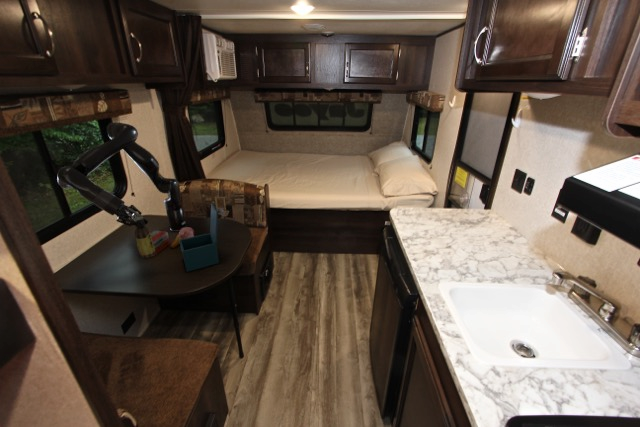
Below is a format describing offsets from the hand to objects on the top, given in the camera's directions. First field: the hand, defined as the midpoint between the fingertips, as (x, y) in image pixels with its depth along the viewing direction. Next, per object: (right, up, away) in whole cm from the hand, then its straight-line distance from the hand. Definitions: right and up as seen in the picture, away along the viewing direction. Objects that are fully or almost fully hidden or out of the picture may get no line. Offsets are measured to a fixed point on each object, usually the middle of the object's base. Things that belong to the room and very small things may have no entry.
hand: (145, 225), depth 134 cm
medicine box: (-12, -15, +30) cm, 35 cm away
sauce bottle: (-2, -15, +7) cm, 16 cm away
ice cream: (+2, -13, +35) cm, 37 cm away
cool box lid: (+25, +1, +16) cm, 30 cm away
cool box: (+17, -20, +20) cm, 33 cm away
